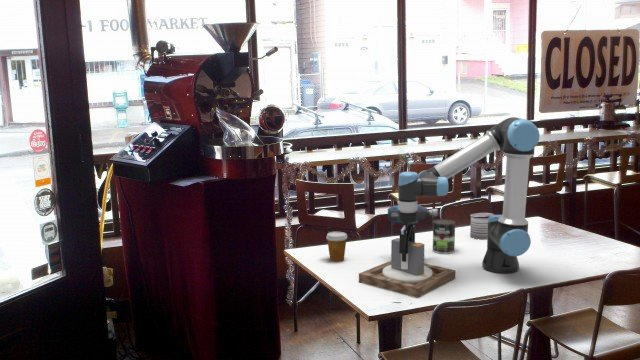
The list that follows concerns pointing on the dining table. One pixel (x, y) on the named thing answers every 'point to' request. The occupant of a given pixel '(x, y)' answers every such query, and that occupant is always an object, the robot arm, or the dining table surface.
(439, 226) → the coffee can
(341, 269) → the dining table surface
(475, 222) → the can
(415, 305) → the dining table surface
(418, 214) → the impact wrench
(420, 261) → the dial
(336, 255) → the disposable coffee cup
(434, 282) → the dial base
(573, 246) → the dining table surface
